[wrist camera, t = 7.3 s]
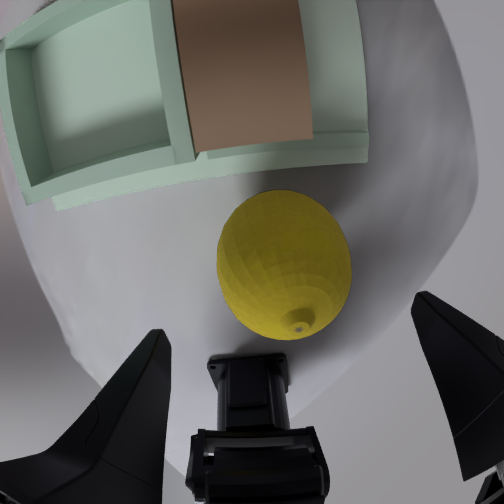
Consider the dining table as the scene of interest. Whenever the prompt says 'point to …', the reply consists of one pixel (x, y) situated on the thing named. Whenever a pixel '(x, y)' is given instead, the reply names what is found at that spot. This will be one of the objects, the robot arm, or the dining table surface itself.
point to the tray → (154, 101)
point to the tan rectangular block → (244, 71)
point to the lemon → (283, 265)
